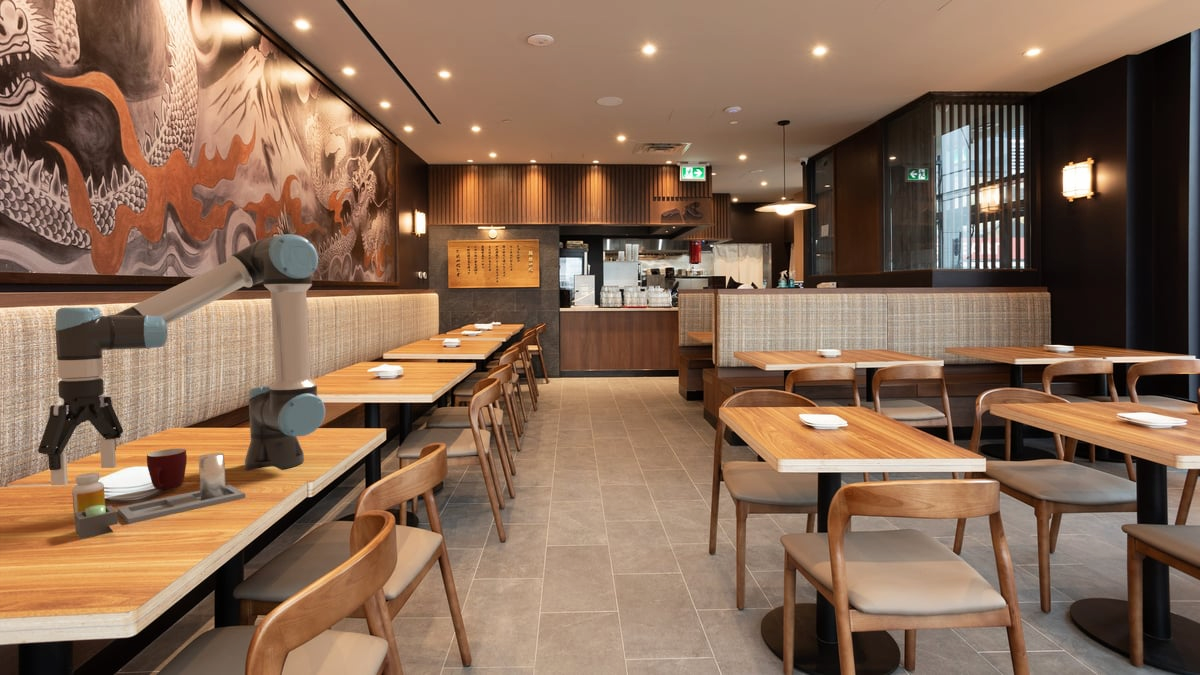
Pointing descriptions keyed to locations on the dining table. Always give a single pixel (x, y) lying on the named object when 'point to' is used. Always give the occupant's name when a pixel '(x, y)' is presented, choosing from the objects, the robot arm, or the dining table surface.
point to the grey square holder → (95, 523)
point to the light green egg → (95, 510)
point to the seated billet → (212, 475)
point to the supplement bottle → (87, 492)
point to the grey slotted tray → (174, 505)
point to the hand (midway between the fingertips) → (85, 475)
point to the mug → (167, 468)
